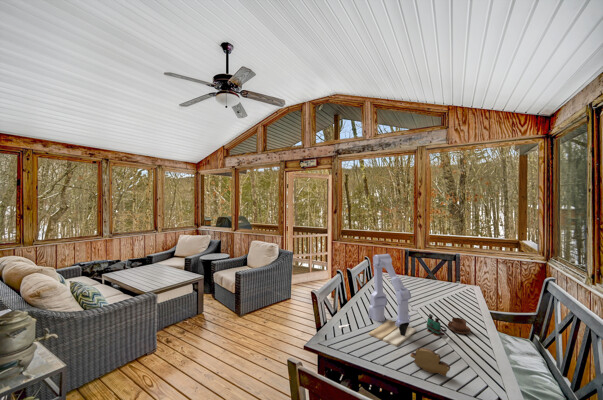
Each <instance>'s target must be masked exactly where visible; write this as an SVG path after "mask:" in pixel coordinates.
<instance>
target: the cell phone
mask: <svg viewBox="0 0 603 400" xmlns="http://www.w3.org/2000/svg"><path fill="white" fill-rule="evenodd" d="M349 325H350V324H349V323H348V324H342V325H338V328H339V329H340V330H343V329H345V328H347V327H348V326H349Z"/></svg>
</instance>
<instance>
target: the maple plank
mask: <svg viewBox="0 0 603 400" xmlns="http://www.w3.org/2000/svg"><path fill="white" fill-rule="evenodd" d="M416 331H417V329H416V328H415V327H414V328H413V327H412V326H411V327H410V326H408V327H407V330H406V334H405V336H402V335H401V334H400V330H399V328H397V329H396V330H395V331H393V332H392V333H390V334H389V335H388V336H386V337H385V338H383V341H382V342H385V343H387V344H389V345H391V346H394V347H399V346H400V345H401V344H402V343H404V341H406V340H407V339H408V338H409V337H410V336H412V335H413V334H414V333H415V332H416Z"/></svg>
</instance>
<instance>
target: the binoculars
mask: <svg viewBox="0 0 603 400" xmlns="http://www.w3.org/2000/svg"><path fill="white" fill-rule="evenodd" d="M433 318H434V315H433V314H431V313H429V314H428V318H427V321H426V328H427V330H426V332H428V333H432V332H433V333H432V334H433V335H434V336H436V337H439V336H444V335H445V332H447V331H448V330H447V329H448V328H446V326H443V325H441V322H440V318H439V317H438V318H434V319H433ZM433 335H432V336H433Z"/></svg>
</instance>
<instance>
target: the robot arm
mask: <svg viewBox="0 0 603 400" xmlns="http://www.w3.org/2000/svg"><path fill="white" fill-rule="evenodd" d="M392 263H393V259H392V257H391V254H390V253H383V254H374V255H373V256H372V266H373V282H374V283H373V286H374V291H373V292H372V293H371V294H370V299H369V303H370V305H369V306H368V318H369V319H371V320H373V321H376V322H384V321H385V308H386V306H387V305H388V298H387V295H386V293H385V292H384V284H383V282H384V280H383V268H384V269H385V271H386V272H387V274H388V275H389V277H390V279H391V280H390V282H391V286H392V287H393V290H395V294H394V295H395V298H396V303H397V318H396V321H394V322H395V326H397V327H399V330H400V334H401V335H402V336H405V334H406V330H407V327H409V325H410V323H411V315H410V314H409V300H411V298H412V294H411V292H410V290H409V289H408V288H407V287H405V285H404V283H403V281H402V280H401V278H400V277H399V276H398V275H397V273H396V271H395V268H394V266H393V264H392Z"/></svg>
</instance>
